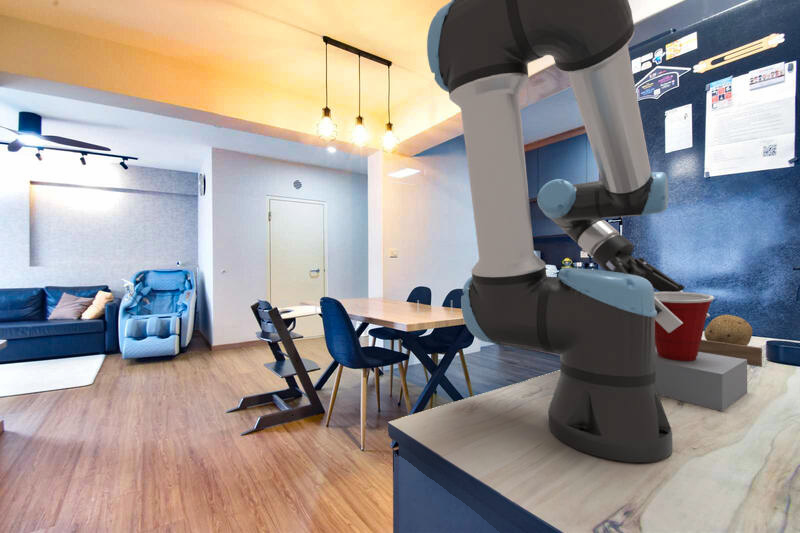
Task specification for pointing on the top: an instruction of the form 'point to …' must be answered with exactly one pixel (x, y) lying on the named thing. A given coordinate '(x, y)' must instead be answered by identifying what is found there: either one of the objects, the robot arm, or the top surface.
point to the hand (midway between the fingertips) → (690, 323)
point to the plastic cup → (688, 334)
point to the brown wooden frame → (732, 351)
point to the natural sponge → (729, 330)
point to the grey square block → (702, 379)
